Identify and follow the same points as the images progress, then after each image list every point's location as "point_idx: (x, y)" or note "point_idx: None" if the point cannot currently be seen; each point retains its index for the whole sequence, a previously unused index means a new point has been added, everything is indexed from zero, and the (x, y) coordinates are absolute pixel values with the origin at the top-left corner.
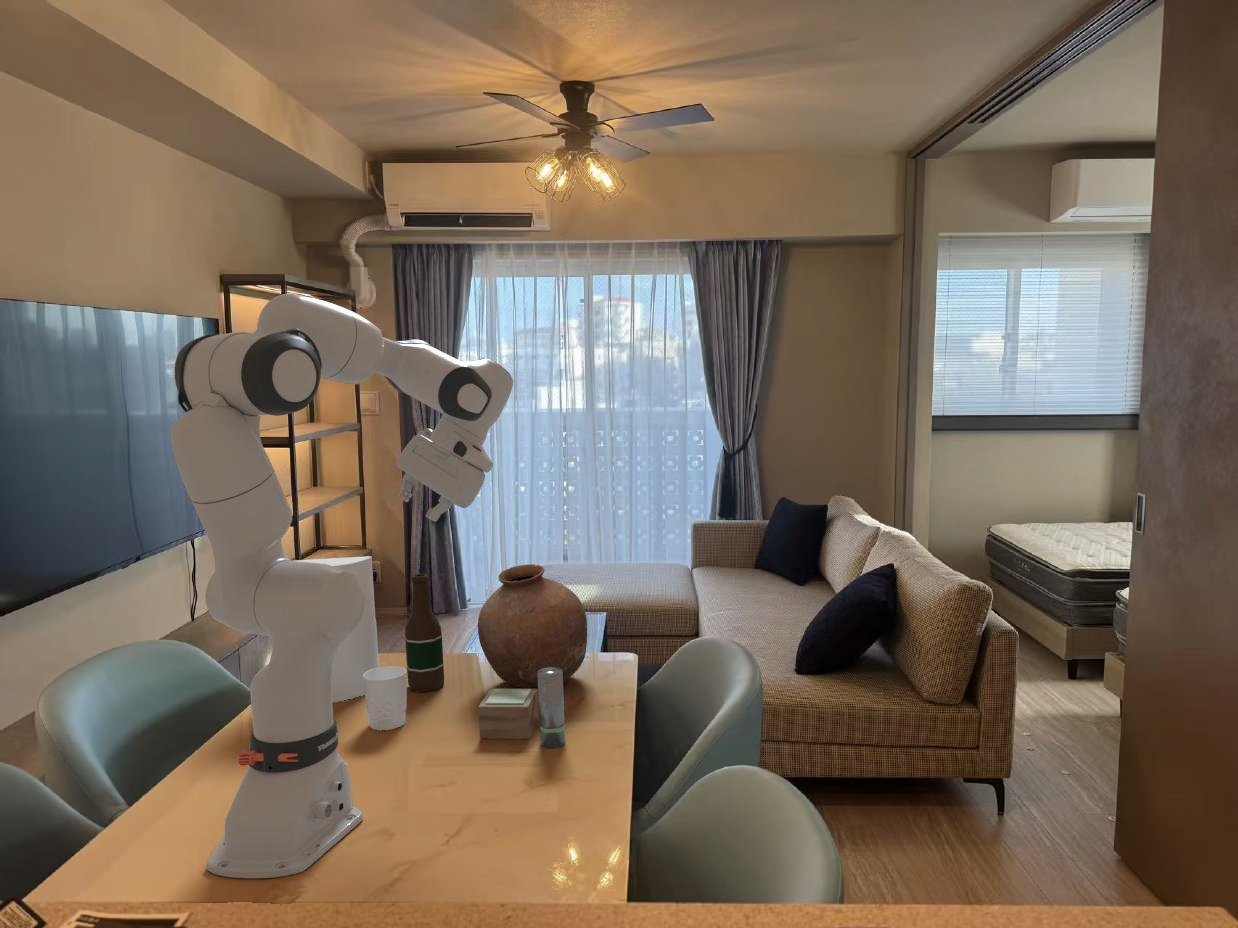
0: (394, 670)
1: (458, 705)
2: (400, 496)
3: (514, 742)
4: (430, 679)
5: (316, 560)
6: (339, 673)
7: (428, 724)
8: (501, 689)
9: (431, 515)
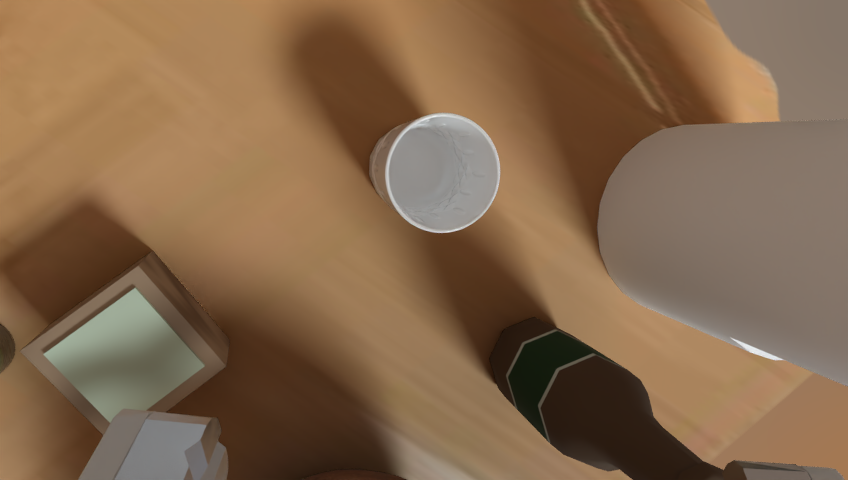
0: (463, 220)
1: (368, 338)
2: (782, 474)
3: (64, 290)
4: (503, 355)
5: None
6: (647, 182)
7: (329, 224)
8: (185, 375)
9: (104, 438)
